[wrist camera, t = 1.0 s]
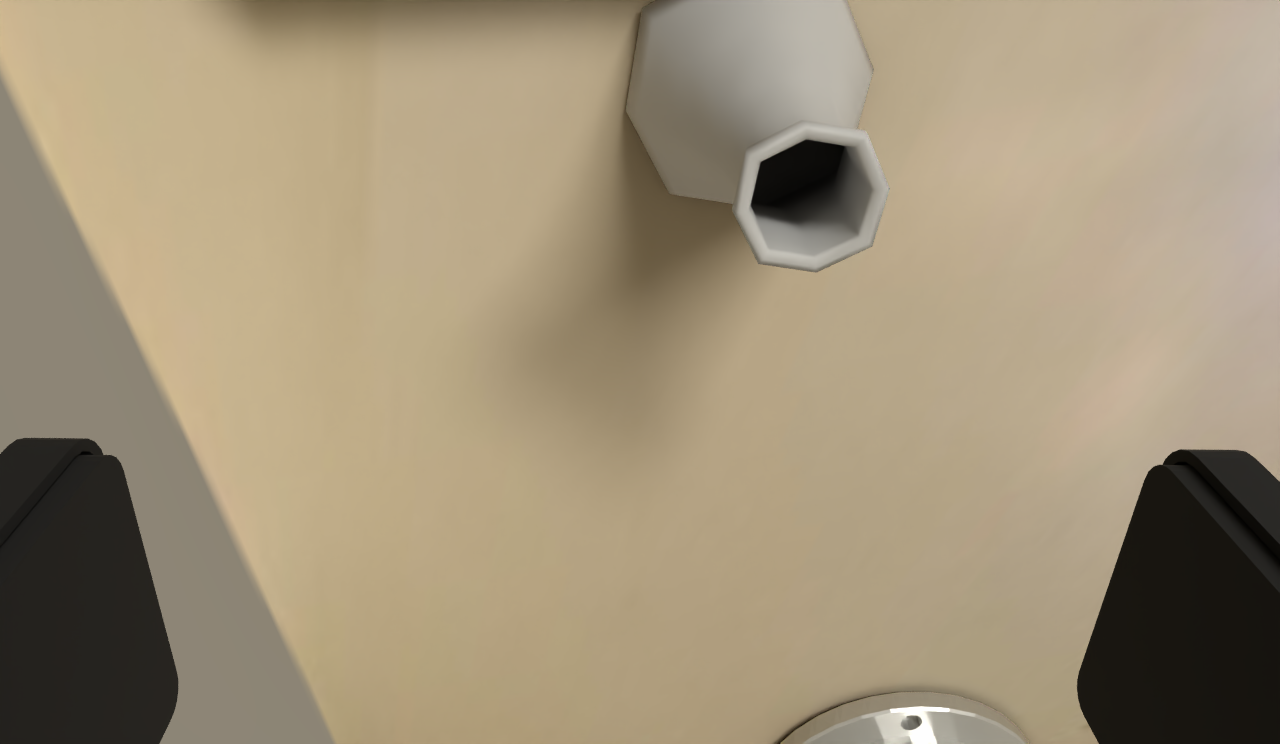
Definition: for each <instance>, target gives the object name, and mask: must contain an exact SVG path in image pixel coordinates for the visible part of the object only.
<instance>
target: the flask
mask: <svg viewBox="0 0 1280 744" xmlns="http://www.w3.org/2000/svg"><path fill="white" fill-rule="evenodd" d="M873 71H874V69H873V66H872V64H871V61H870V59H869V56H868V54H867V51H866V48H865V46H864V43H863V41H862V38H861V35H860V33H859V30H858V28H857V25H856V22H855V20H854V17H853V15H852V12H851V9H850V7H849V4H848V2H847V0H656V1H654V2H652V3H650V4H648V5H647V6H645V7H643V8H642V13H641V19H640V25H639V31H638V37H637V43H636V49H635V56H634V62H633V68H632V74H631V80H630V86H629V92H628V98H627V104H626V112H627V114H628V116H629V118H630V120H631V121H632V123H633V125H634V127H635V129H636V131H637V133H638V135H639V137H640V139H641V141H642V143H643V145H644V146H645V148H646V150H647V152H648V154H649V156H650V158H651V160H652V162H653V164H654V166H655V168H656V170H657V171H658V173H659V175H660V177H661V179H662V181H663V183H664V185H665V187H666V189H667V191H668V193H669V194H673V195H678V196H685V197H691V198H698V199H704V200H711V201H717V202H724V203H730V204H733V206H732V211H733V213H734V215H735V217H736V219H737V221H738V223H739V225H740V228H741V230H742V232H743V234H744V236H745V238H746V240H747V242H748V244H749V246H750V248H751V250H752V252H753V254H754V256H755V258H756V260H757V262H758V264H763V265H770V266H776V267H783V268H790V269H797V270H803V271H810V272H818V271H821V270H823V269H825V268H827V267H829V266H831V265H833V264H835V263H838V262H840V261H842V260H844V259H846V258H848V257H850V256H853V255H855V254H857V253H859V252H861V251H863V250H865V249H867V248H870V247H872V245H873V242H874V239H875V235H876V232H877V229H878V226H879V222H880V219H881V216H882V212H883V209H884V206H885V202H886V199H887V196H888V193H889V189H890V188H889V186H888V183H887V181H886V178H885V176H884V173H883V171H882V168H881V166H880V163H879V161H878V158H877V156H876V154H875V151H874V149H873V146H872V144H871V141H870V139H869V136H868V134H867V132H866V131H865V130H860V129H857V128H858V125H859V121H860V117H861V114H862V110H863V107H864V103H865V99H866V96H867V92H868V89H869V85H870V81H871V78H872V74H873Z"/></svg>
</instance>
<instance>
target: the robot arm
mask: <svg viewBox="0 0 1280 744" xmlns="http://www.w3.org/2000/svg"><path fill="white" fill-rule="evenodd" d="M1077 692H1078V699H1079V703H1080V707H1081V710H1082V712H1083V715H1084V717H1085V719H1086V720H1087V722H1088V724H1089V726H1090V728H1091V730H1092V732H1093V733H1094V735H1095V737H1096V739H1097V741H1098V743H1099V744H1280V482H1279V481H1278V480H1277V479H1276V478H1275V477H1274V476H1273V475H1272V474H1271V473H1270V472H1269V471H1268V470H1267V469H1266V468H1265V467H1264V466H1263V465H1262V464H1261V463H1260V462H1258V461H1257V460H1256V459H1255V458H1254V457H1253V456H1251V455H1250V454H1248V453H1247V452H1244V451H1238V450H1178V451H1175V452H1172V453H1171V454H1170V455H1169V456H1168V457H1167V458H1166V459H1165V461H1164V463H1163V465H1157V466H1155V467H1153V468H1152V469H1151V470H1150V471H1149V472H1148V474H1147V476H1146V478H1145V480H1144V483H1143V486H1142V489H1141V492H1140V495H1139V498H1138V501H1137V503H1136V506H1135V509H1134V512H1133V515H1132V518H1131V521H1130V524H1129V527H1128V530H1127V533H1126V536H1125V539H1124V542H1123V545H1122V548H1121V550H1120V553H1119V556H1118V559H1117V562H1116V565H1115V568H1114V571H1113V574H1112V577H1111V580H1110V583H1109V586H1108V589H1107V592H1106V595H1105V597H1104V600H1103V603H1102V606H1101V609H1100V612H1099V615H1098V618H1097V621H1096V624H1095V627H1094V630H1093V633H1092V636H1091V639H1090V641H1089V644H1088V647H1087V650H1086V653H1085V656H1084V659H1083V662H1082V665H1081V668H1080V671H1079V675H1078V680H1077ZM177 695H178V676H177V671H176V667H175V664H174V659H173V656H172V652H171V648H170V644H169V641H168V637H167V633H166V629H165V625H164V622H163V618H162V614H161V610H160V607H159V603H158V599H157V595H156V591H155V588H154V584H153V580H152V576H151V572H150V569H149V565H148V561H147V558H146V554H145V550H144V546H143V542H142V538H141V535H140V531H139V527H138V523H137V520H136V516H135V512H134V508H133V504H132V501H131V497H130V493H129V489H128V486H127V481H126V478H125V474H124V470H123V468H122V465H121V463H120V462H119V460H118V459H117V458H116V457H114V456H112V455H103V453H102V450H101V448H100V447H99V446H98V445H97V444H96V443H95V442H94V441H92V440H90V439H74V438H73V439H71V438H70V439H69V438H67V439H66V438H64V439H63V438H23V439H17V440H16V441H14V442H13V443H11V444H10V445H9V446H8V447H7V448H6V449H5V450H4V451H3V452H2V453H1V454H0V744H159V743H160V741H161V739H162V737H163V735H164V733H165V731H166V729H167V727H168V725H169V722H170V720H171V718H172V715H173V713H174V710H175V706H176V702H177ZM780 744H1030V742H1029V741H1028V740H1027V738H1026V737H1025V735H1024V734H1023V733H1022V731H1021V730H1020V729H1019V727H1018V726H1017V725H1016V724H1014V723H1013V722H1012V721H1011V720H1009V719H1008V718H1007V717H1006V716H1005V715H1003V714H1002V713H1000V712H998V711H996V710H995V709H993V708H991V707H989V706H987V705H985V704H983V703H981V702H977V701H974V700H971V699H967V698H964V697H960V696H957V695H950V694H942V693H935V692H897V693H890V694H883V695H877V696H870V697H867V698H864V699H860V700H857V701H853V702H850V703H846V704H843V705H841V706H839V707H836V708H834V709H832V710H830V711H827V712H825V713H823V714H821V715H818V716H817V717H815V718H814V719H812V720H810V721H809V722H807V723H806V724H804V725H802V726H801V727H799V728H798V729H796V730H795V731H794V732H792V733H791V734H790V735H789V736H788V737H787V738H786V739H785V740H783V741H782V742H781V743H780Z"/></svg>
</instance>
